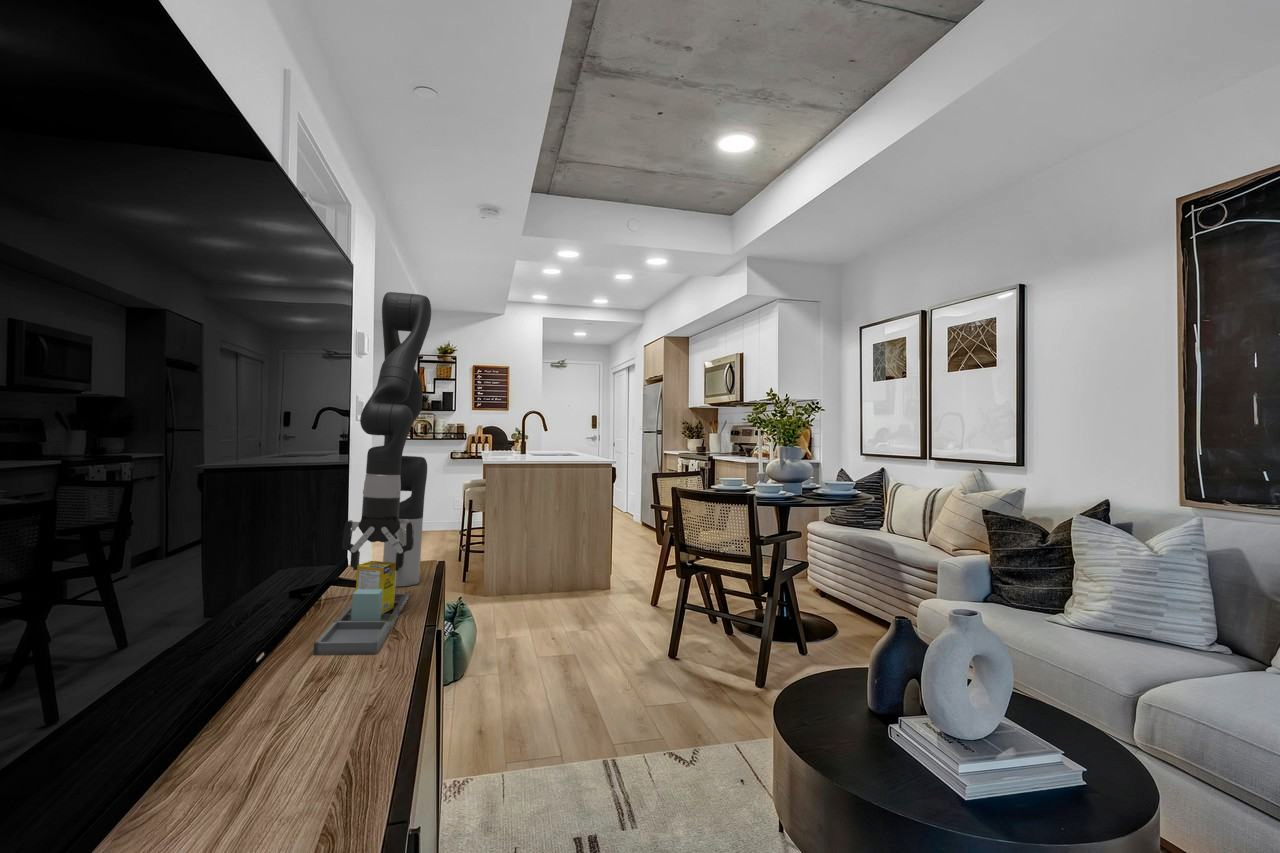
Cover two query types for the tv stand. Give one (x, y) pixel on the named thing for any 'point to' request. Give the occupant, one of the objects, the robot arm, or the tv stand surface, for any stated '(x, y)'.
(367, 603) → the sage green square block
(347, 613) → the rails
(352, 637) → the tray
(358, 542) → the robot arm
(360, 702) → the tv stand surface
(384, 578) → the supplement box
